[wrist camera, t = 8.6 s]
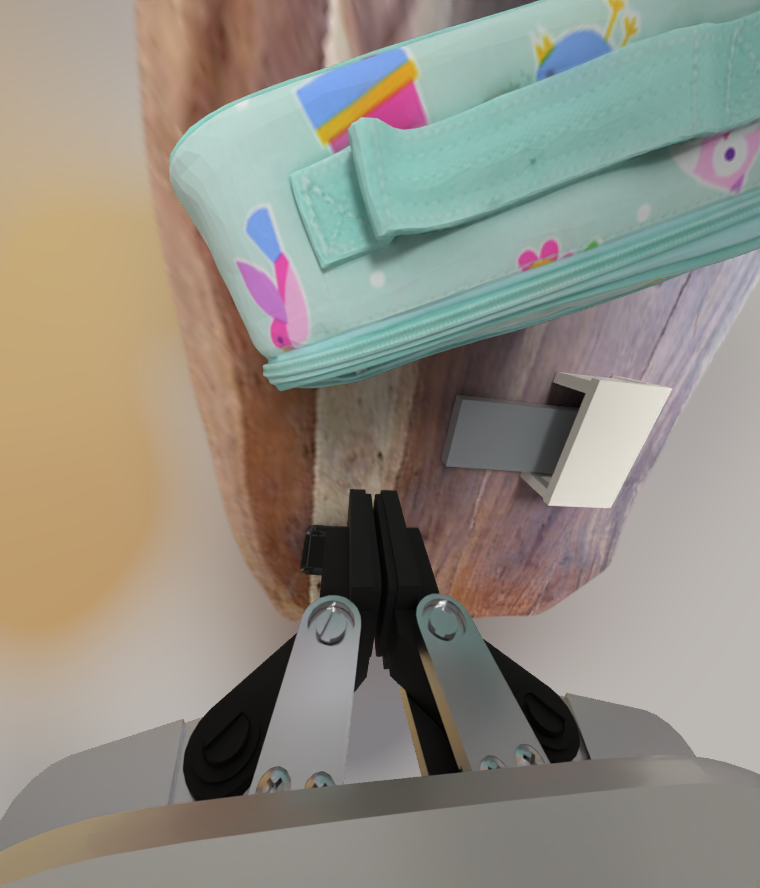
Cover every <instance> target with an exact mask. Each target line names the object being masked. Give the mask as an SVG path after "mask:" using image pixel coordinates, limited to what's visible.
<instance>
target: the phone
mask: <svg viewBox="0 0 760 888" xmlns="http://www.w3.org/2000/svg"><path fill="white" fill-rule="evenodd" d="M326 527H327V526H321V525H313V526H310V527H309V528H308V529H307V531H306V537H305V543H304V549H303V555H302V562H301V571H302V572H303V573H305V574H310V575H322V569H323V558H324V547H325V537H326Z"/></svg>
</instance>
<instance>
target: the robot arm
mask: <svg viewBox="0 0 760 888" xmlns="http://www.w3.org/2000/svg"><path fill="white" fill-rule="evenodd" d="M374 637H375V649H376V656H377V657H380V656H383V665H384V669H389V671H390V676H391V677H392V678H393V679H394V680H395V681H396V682H397V683H398V684H399V687H400V695H401V699H402V702H403V706H404V710H405V714H406V718H407V721H408V725H409V729H410V733H411V737H412V741H413V745H414V748H415V752H416V756H417V760H418V764H419V768H420V772H421V775H422V777H413V778H403V779H393V780H384V781H374V782H365V783H355V784H345V785H344V775H345V767H346V757H347V748H348V739H349V730H350V721H351V712H352V702H353V694H354V692H355V691H356V690H357V688H358V687H359V686H360V685H361V683H362V682H363V681H364V679H365V678H366V677H367V671H368V664H369V658H370V657H371V654H372V648H373V642H374ZM0 888H760V774H757V773H755V772H753V771H750V770H747V769H744V768H741V767H738V766H735V765H732V764H729V763H726V762H722V761H717V760H713V759H709V758H701V757H696V756H695V755H694V753H693V751H692V750H691V748H690V747H689V746H688V745H687V743H686V742H685V740H684V739H683V738H682V736H681V735H680V734H679V733H678V732H677V731H676V730H674V729H673V728H672V726H671V725H670V724H668V723H667V722H665V721H664V720H663V719H661V718H660V717H658V716H657V715H655V714H652V713H650V712H648V711H645V710H641V709H637V708H633V707H628V706H624V705H619V704H614V703H610V702H605V701H601V700H596V699H592V698H587V697H582V696H577V695H573V694H568V693H567V694H566V695H565V696H564V697H563V696H559V695H557V694H556V693H555V692H554V691H553V690H552V689H551V688H550V687H548V686H547V685H545V684H544V683H543V682H541V681H540V680H539V679H537V678H536V677H535V676H533V675H532V674H531V673H529V672H528V671H526V670H525V669H524V668H522V667H521V666H519V665H518V664H517V663H515V662H514V661H513V660H511V659H510V658H509V657H507V656H506V655H504V654H503V653H502V652H500V651H499V650H498V649H496V648H495V647H494V646H492V645H491V644H490V643H488V642H487V641H485V640H484V639H482V636H481V634H480V633H479V631H478V629H477V627H476V625H475V623H474V622H473V620H472V618H471V616H470V614H469V613H468V611H467V610H466V609H465V607H464V606H463V605H462V604H461V603H460V602H458V601H457V600H456V599H454V598H452V597H450V596H448V595H444V594H440V593H439V590H438V587H437V584H436V581H435V578H434V574H433V571H432V568H431V565H430V562H429V559H428V555H427V552H426V549H425V546H424V543H423V539H422V536H421V533H420V531H419V529H418V528H406V524H405V521H404V517H403V513H402V509H401V505H400V501H399V497H398V494H397V491H390V490H381V493H380V494H375V499H374V507H373V505H372V497H371V494H366V491H365V490H358V489H350V495H349V509H348V522H347V527H332V526H327V527H326V537H325V547H324V558H323V569H322V579H321V590H320V598H319V599H318V600H316V601H314V602H313V603H312V604H311V605H310V606H309V607H308V608H307V609H306V610H305V613H304V615H303V617H302V619H301V622H300V626H299V629H298V632H297V633H296V634H295V635H294V636H293V637H292V638H291V639H289V640H288V641H287V642H286V643H285V644H284V645H283V646H282V647H280V649H278V650H277V651H276V652H275V653H274V654H272V655H271V656H270V657H269V658H268V659H267V660H266V661H265V662H263V663H262V664H261V665H260V666H259V667H258V668H257V669H256V670H254V671H253V672H252V673H251V674H250V675H249V676H248V677H247V678H245V679H244V680H243V681H242V682H241V683H240V684H238V685H237V686H236V687H235V688H234V689H233V690H232V691H231V692H230V693H228V694H227V695H226V696H225V697H224V698H223V699H221V700H220V701H219V702H218V703H217V704H216V705H215V706H214V707H212V708H211V709H210V710H209V711H208V712H207V714H206V715H205V716H204V717H202V718H199V719H196V720H193V721H190V722H187V723H185V722H184V720H183V719H182V720H179V721H176V722H172V723H170V724H166V725H163V726H160V727H157V728H154V729H151V730H148V731H145V732H142V733H139V734H136V735H132V736H129V737H126V738H123V739H120V740H117V741H114V742H111V743H107V744H104V745H101V746H98V747H95V748H92V749H89V750H86V751H83V752H80V753H77V754H73V755H70V756H68V757H66V758H64V759H63V760H60V761H58V762H56V763H54V764H52V765H51V766H49V767H48V768H47V769H45V770H44V771H43V772H41V773H40V774H39V775H38V776H36V777H35V778H34V779H33V780H32V781H31V782H30V783H29V784H28V785H27V786H26V787H25V788H24V789H23V790H22V791H21V792H20V794H19V795H18V796H17V797H16V798H15V799H14V800H13V802H12V803H11V805H10V806H9V808H8V809H7V811H6V813H5V814H4V816H3V817H2V819H1V820H0Z"/></svg>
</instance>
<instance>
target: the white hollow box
mask: <svg viewBox="0 0 760 888" xmlns="http://www.w3.org/2000/svg"><path fill="white" fill-rule="evenodd" d="M553 383H556V384H559V385H563V386H566V387H569V388H572V389H575V390H578V391H581V392H584V393H586V394H585V397H584V399H583V401H582V404H581V406H580V409H579V411H578V414H577V416H576V419H575V421H574V424H573V426H572V429H571V431H570V434H569V436H568V439H567V441H566V444H565V446H564V449H563V451H562V453H561V456H560V458H559V461H558V463H557V466H556V468H555V471H554V473H553V474H549V473H535V472H521V474H520V477H521V478H522V479H523V480H524V481H525V482H526V483H528V484H529V485H530V486H531V487H532V488H533V489H534V490H535V491H536V492H537V493H538V494H539V495H541V496H542V497H543V501H544V502H545V503H546V504H547V505H548V506H571V507H596V508H611V506H612V504H613V502H614V500H615V498H616V496H617V495H618V493H619V491H620V489H621V487H622V485H623V483H624V481H625V479H626V477H627V475H628V473H629V471H630V469H631V467H632V466H633V464H634V462H635V460H636V458H637V456H638V454H639V452H640V450H641V448H642V446H643V444H644V442H645V440H646V439H647V437H648V435H649V433H650V431H651V429H652V427H653V425H654V423H655V421H656V419H657V417H658V415H659V413H660V411H661V410H662V408H663V406H664V404H665V402H666V400H667V398H668V396H669V394H670V392H671V390H672V388H669V387H665V386H660V385H656V384H651V383H647V382H643V381H638V380H634V379H629V378H625V377H621V376H613V375H612V377H611V378H607V377H598V376H590V375H581V374H573V373H564V372H556V375H555V377H554V380H553Z"/></svg>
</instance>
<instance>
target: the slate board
mask: <svg viewBox="0 0 760 888" xmlns="http://www.w3.org/2000/svg"><path fill="white" fill-rule="evenodd" d="M579 409H580V408H574V407H565V406H556V405H546V404H537V403H528V402H519V401H510V400H500V399H491V398H482V397H473V396H463V395H456V399H455V403H454V407H453V411H452V415H451V420H450V424H449V428H448V432H447V436H446V441H445V445H444V449H443V453H442V457H441V460H442V461H443V463H444V464H445V466H447V467H462V468H476V469H491V470H505V471H520V472H535V473H549V474H553V473H554V471H555V468H556V466H557V463H558V461H559V458H560V456H561V453H562V451H563V449H564V446H565V444H566V441H567V439H568V436H569V434H570V431H571V429H572V426H573V424H574V421H575V419H576V416H577V414H578V411H579Z"/></svg>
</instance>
